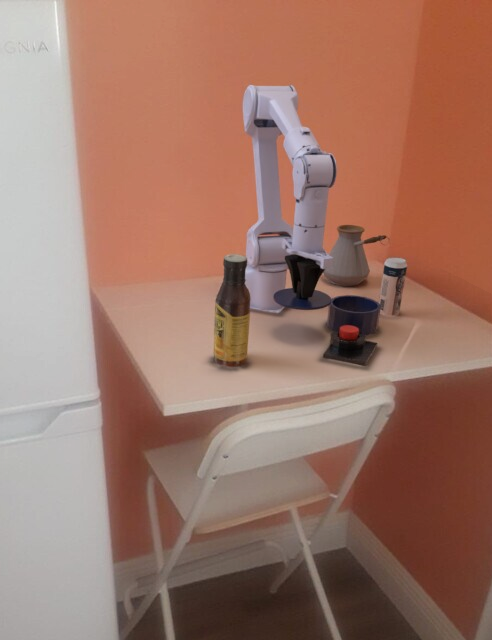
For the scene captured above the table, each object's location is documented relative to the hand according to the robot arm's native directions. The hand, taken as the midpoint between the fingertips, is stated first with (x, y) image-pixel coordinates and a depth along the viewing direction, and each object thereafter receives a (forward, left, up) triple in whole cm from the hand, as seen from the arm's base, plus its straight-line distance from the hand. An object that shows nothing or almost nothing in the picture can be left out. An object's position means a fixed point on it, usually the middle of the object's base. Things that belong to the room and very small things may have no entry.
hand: (302, 294), depth 136 cm
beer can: (+14, +21, -9) cm, 27 cm away
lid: (0, 0, -1) cm, 1 cm away
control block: (+12, -4, -9) cm, 15 cm away
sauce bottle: (-7, -18, -9) cm, 21 cm away
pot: (+9, +9, -9) cm, 15 cm away
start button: (+10, -2, -6) cm, 12 cm away
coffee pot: (+3, +35, -9) cm, 37 cm away
